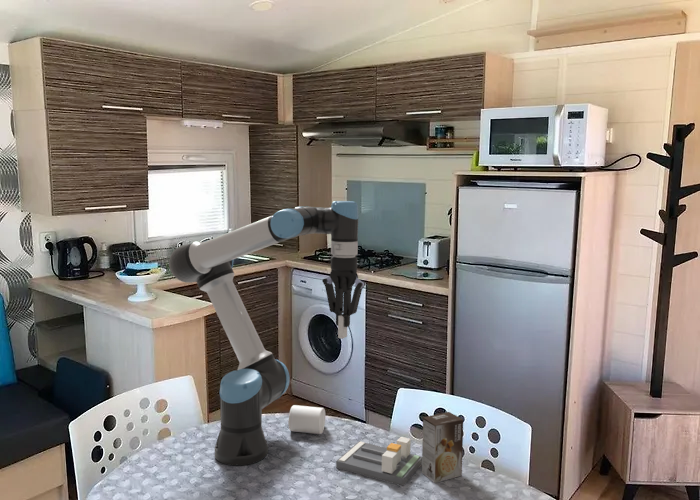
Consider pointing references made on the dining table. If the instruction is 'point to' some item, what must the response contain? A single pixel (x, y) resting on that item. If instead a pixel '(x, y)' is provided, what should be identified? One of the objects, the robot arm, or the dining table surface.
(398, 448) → the block
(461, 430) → the brown tall rectangular box
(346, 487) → the dining table surface
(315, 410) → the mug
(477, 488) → the dining table surface
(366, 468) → the panel
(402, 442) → the block
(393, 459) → the block
